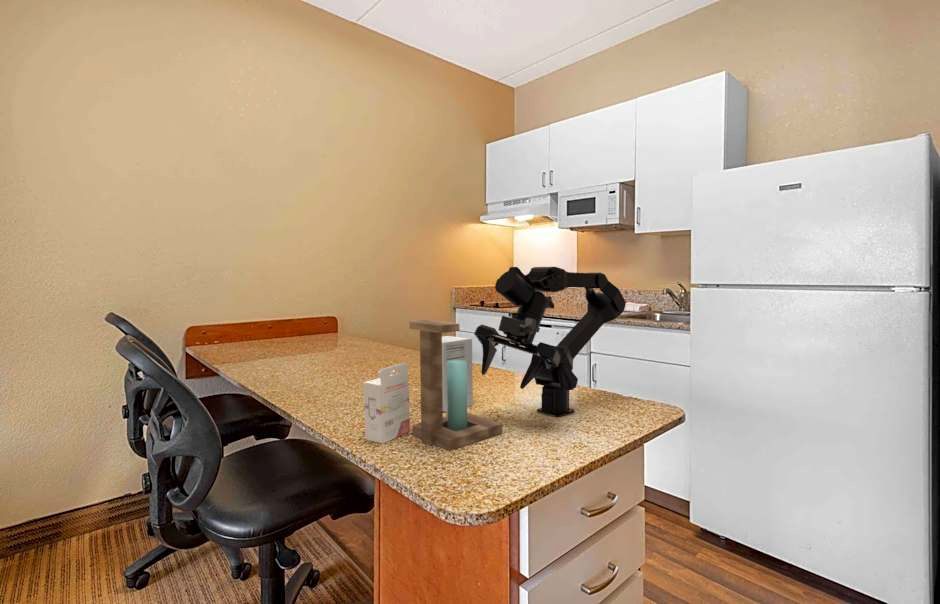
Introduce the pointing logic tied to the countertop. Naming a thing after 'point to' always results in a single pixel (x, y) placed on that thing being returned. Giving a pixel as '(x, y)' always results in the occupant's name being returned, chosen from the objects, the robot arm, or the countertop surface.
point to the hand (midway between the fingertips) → (501, 381)
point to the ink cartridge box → (387, 405)
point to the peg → (457, 394)
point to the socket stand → (432, 419)
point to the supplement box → (457, 351)
